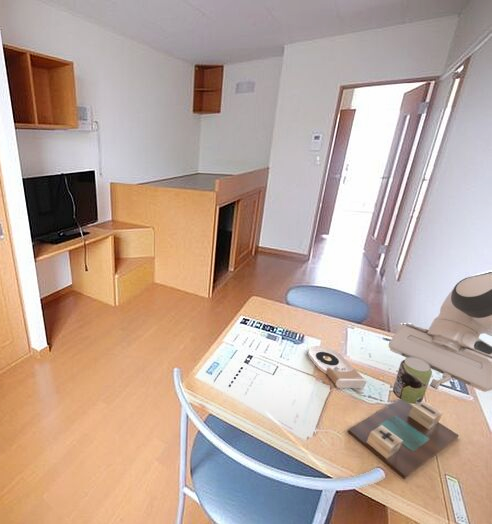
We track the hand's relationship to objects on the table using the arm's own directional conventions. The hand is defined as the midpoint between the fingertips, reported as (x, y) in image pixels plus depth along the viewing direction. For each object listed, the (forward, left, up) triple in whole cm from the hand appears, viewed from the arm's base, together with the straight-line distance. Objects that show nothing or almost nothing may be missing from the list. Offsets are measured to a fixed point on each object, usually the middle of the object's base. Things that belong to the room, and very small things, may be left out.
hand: (425, 383), depth 78 cm
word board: (0, 0, -18) cm, 18 cm away
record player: (+26, -8, -18) cm, 33 cm away
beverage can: (+1, +1, -6) cm, 6 cm away
